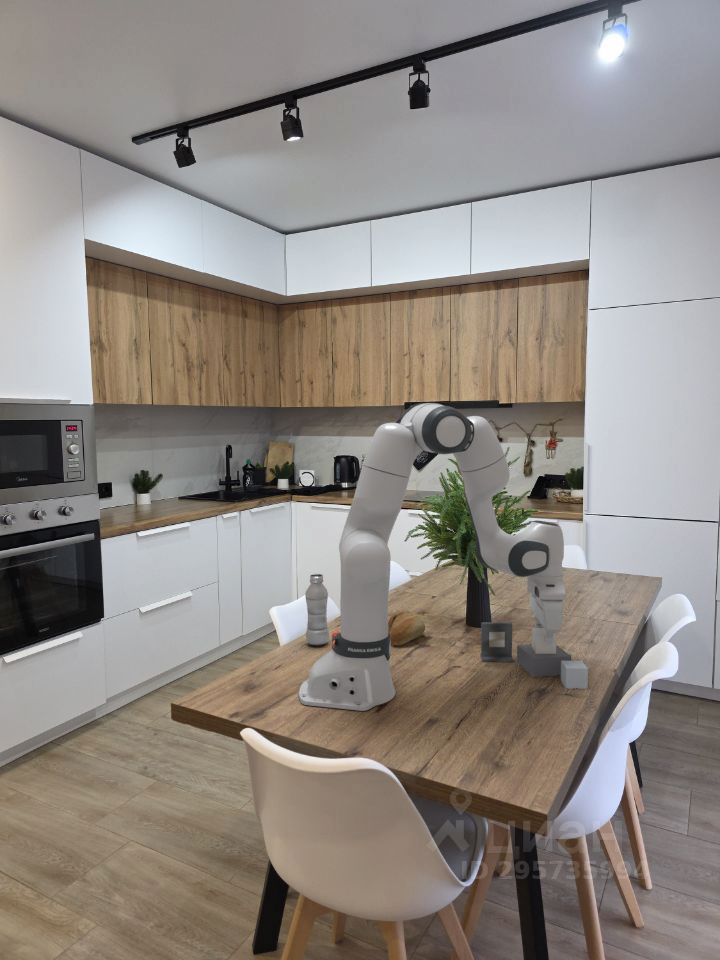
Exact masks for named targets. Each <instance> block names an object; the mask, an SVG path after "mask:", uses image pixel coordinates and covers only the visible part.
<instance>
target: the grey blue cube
mask: <svg viewBox="0 0 720 960" xmlns="http://www.w3.org/2000/svg"><path fill="white" fill-rule="evenodd" d="M588 678H589V668H588V666H587V665H586V664H585V663H584V661H583V660H571V661H561V675H560V681H561V683H562V685H563V686H564V688H565V689H567V688H568V689H569V690H570V689H573V688H575V689H576V688H578V689H579V690H580V689H583V690H585V689H586V690H587V688H588V687H589V686H588V684H589V683H588V681H589V679H588ZM568 689H567V690H568ZM578 689H577V690H578ZM573 690H574V689H573Z"/></svg>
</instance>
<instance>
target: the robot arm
mask: <svg viewBox="0 0 720 960" xmlns="http://www.w3.org/2000/svg"><path fill="white" fill-rule="evenodd" d="M423 451H425V452H429V453H433V454H437V455H450V454H452V455H453V456H454V458H455V460H456V463H457V467H458V469H459V472H460V474H461V478H462V481H463V486H464V489H463V493H464V498H465V503H466V506H467V510H468V513H469V518H470V521H471V524H472V528H473V532H474V536H475V556H476V557H477V560H478V562H479V563H480V564H481V565H482V566H483V567H484V568H487V569H490V570H495V571H500V572H502V573H504V574H509V575H511V576H515V577H521V578H525V577H526V590H527V591H528V592H529V603H528V604H529V609H530V611H531V612H532V613H533V616H534V621H535V628H544V629H545V636H544V642H545V644H546V645H552V643H553V636H554V632H555V633H556V632H561V629H562V626H563V617H564V601H565V600H566V599H567V591H566V588H565V587H564V586H565V585H564V584H565V581H564V568H563V561H564V556H565V553H564V552H565V544H564V543H565V542H564V534H563V530H562V527H561V526H560V525H559V524H557V523H555V522H554V523H553V522H550V521H545V520H536V519H535V520H533V521H530V524H529V525H528V527H527V528H525V529H524V530H523V531H522V532H519V533H518V534H515V535H514V534H511V533H507V532H505V531H504V530H503V529H502V528H501V527H500V526H499V524H498V521H497V516H496V512H495V509H494V505H493V497H494V496H496V495H498V494H500V492H502V491H503V490H504V488H506V487H507V485H508V482H509V480H510V468H509V463H508V460H507V457H506V455H505V453H504V450H503V446H502V445H501V443H500V440H499V438H498V436H497V434H496V432H495V431H494V429H493V427H492V426H491V424H490V422H489V421H488V420H487V419H485V418H484V417H482V416H479V415H472V416H471V415H470V416H465V415H464V414H463V413H462V412H461V411H459V410H458V409H456V408H455V407H452V406H449V405H448V406H447V405H443V404H441V403H436V402H420V403H417V404H413V405H412V406H410V407H408V408H407V409H406V410H405V412H403V414H402V415H401V417H400V418H399V419H397V421H396V422H386V423H383V424H381V425H380V426H378V427H377V428H376V430H375V432H374V434H373V436H372V438H371V441H370V443H369V446H368V448H367V449H366V453H365V455H364V458H363V459H364V460H363V463H362V466H361V469H360V473H359V477H358V481H357V484H356V489H355V492H354V496H353V499H352V502H351V505H350V508H349V511H348V514H347V517H346V519H345V524H344V525H343V531H342V532H341V537H340V539H339V543H338V551H339V557H340V558H339V559H340V601H339V602H340V604H339V605H340V606H339V607H340V608H339V609H340V611H339V612H340V630H337V629H336V630H333V632H332V634H331V639H332V640H331V650H329V651H328V652H327V653H325V654H324V655H322V656H321V657H320V658H318V659H317V660H316V661H315V662H314V663H313V665H312V667H311V669H310V671H309V675H308V678H307V679H306V680H304V681H303V682H302V683H301V685H300V686H299V691H298V699H299V702H300V703H301V704H302V705H304V706H312V707H321V708H332V709H341V710H342V709H343V710H351V711H360V712H365V711H368V710H370V709H372V708H375V707H376V706H379V705H382V704H385V703H388V702H390V701H391V700H392V699H394V698H395V696H396V693H397V692H396V688H395V686H394V682H393V677H392V672H391V664H390V659H391V655H392V654H391V652H392V643H391V639H390V634H389V633H388V622H389V594H390V583H391V558H392V557H391V551H390V548H389V546H388V544H389V543H388V542H389V541H390V540H389V539H390V537H391V534H392V531H393V529H394V525H395V523H396V521H397V519H398V516H399V514H400V512H401V511H402V506H403V503H404V499H405V495H406V492H407V487H408V485H409V481H410V477H411V473H412V470H413V464H414V463H415V460H416V459H417V458H418V456H419V455H420V453H422V452H423Z"/></svg>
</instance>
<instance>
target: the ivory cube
mask: <svg viewBox="0 0 720 960" xmlns="http://www.w3.org/2000/svg"><path fill="white" fill-rule="evenodd" d="M544 636H545V629H544V628H536V627H532V628H531V644H532V648H533V650H534V651H535V653H536V654H556V645H557V633H556V631H555V632H554V636H553V643H552V645H546V644H545V642H544Z"/></svg>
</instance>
